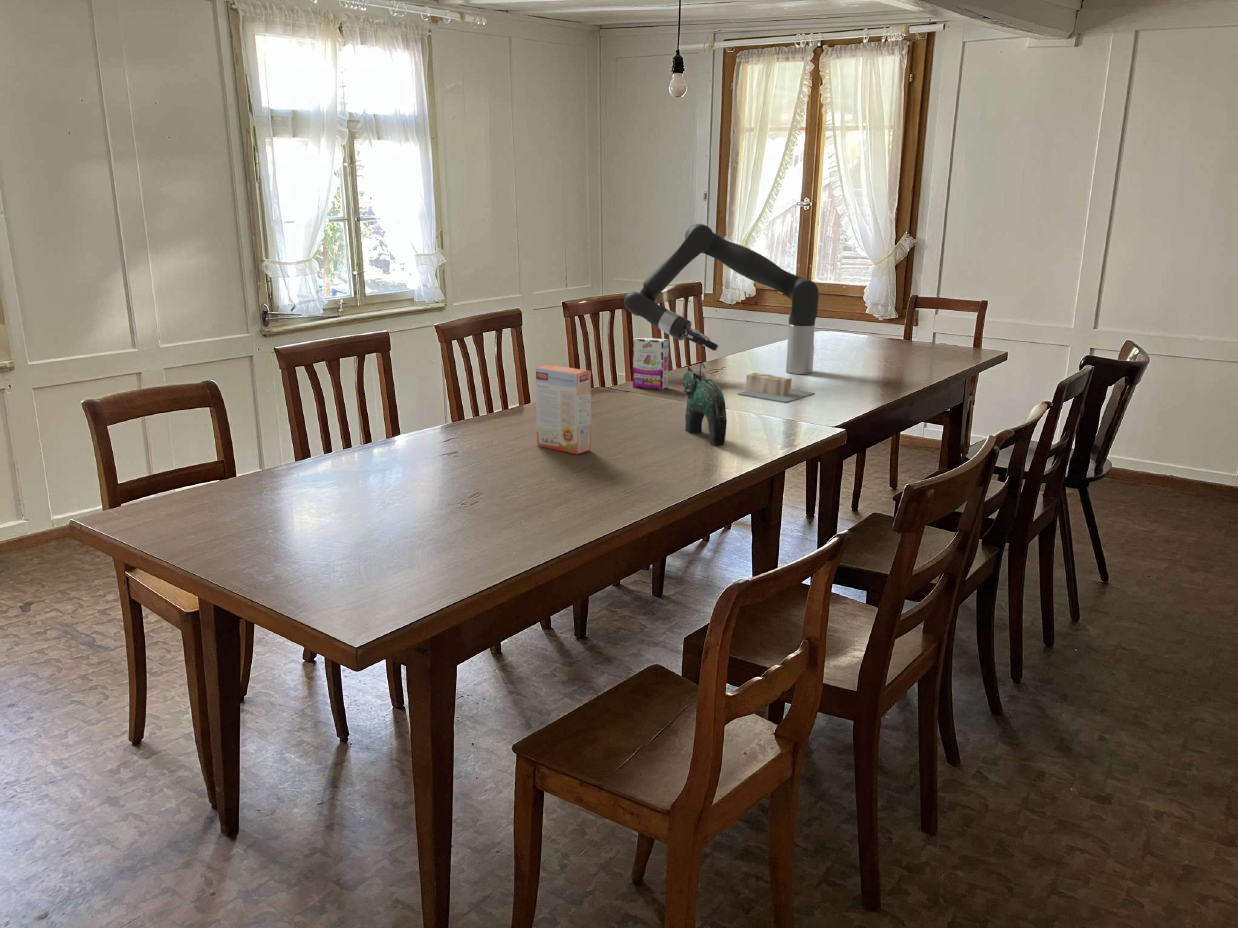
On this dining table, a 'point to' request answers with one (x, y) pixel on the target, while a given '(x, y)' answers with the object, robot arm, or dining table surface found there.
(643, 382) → the candy bar box
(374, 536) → the dining table surface
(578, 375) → the cracker box
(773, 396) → the slate rubber mat
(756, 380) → the birch block
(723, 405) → the green animal figurine
